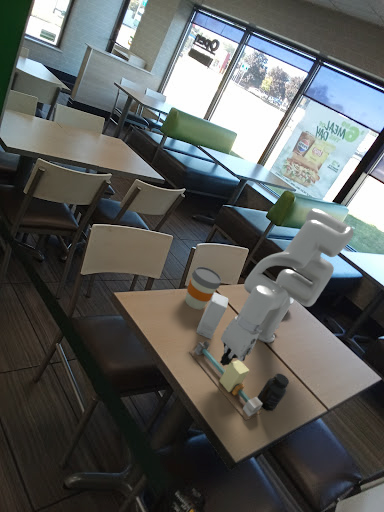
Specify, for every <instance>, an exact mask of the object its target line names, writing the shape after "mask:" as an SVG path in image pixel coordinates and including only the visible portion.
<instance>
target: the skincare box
mask: <svg viewBox="0 0 384 512" xmlns="http://www.w3.org/2000/svg"><path fill="white" fill-rule="evenodd" d="M228 303H229V298H228V297H226V296H224V295H221V294H220V293H217V292H216V293H215V292H214V293H213V295H212V297H211V299H210V301H208V303H207V306H206V308H205V310H204V312H203V313H202V317H201V319H200V320H199V323H198V326H197V329H196V333H197V334H198V335H200V336H202V337H204V338H206V339H209V340H211V339H212V338H213V335H214V334H215V332H216V330H217V329H218V328H217V327H218V326H219V324H220V322H221V320H222V318H223V316H224V314H225V313H226V309H227V308H228Z"/></svg>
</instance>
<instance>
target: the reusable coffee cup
mask: <svg viewBox="0 0 384 512" xmlns="http://www.w3.org/2000/svg"><path fill="white" fill-rule="evenodd" d="M191 275H192V276H191V278H190V279H189V282H188V286H187V288H186V291H187V292H186V296H185V298H184V301H185V303H186V304H187V306H189V307H191V308H192V309H195V310H203V309H204V308H205V307H206V305H208V303H209V302H210V299H211V297H212V295H213V293H214V292H215V293H217V290H218V289H219V288H220V286H221V283H222V281H223V279H222V277H221V276H220V274H219V273H218V272H216V271H215V270H213V269H211V268H209V267H206V266H202V265H201V266H196V267H195V269H194V270H193V272H192V273H191Z"/></svg>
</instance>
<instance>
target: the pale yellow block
mask: <svg viewBox="0 0 384 512" xmlns="http://www.w3.org/2000/svg"><path fill="white" fill-rule="evenodd" d="M249 372H250V369H249V368H248V367H247V366H246V365H245V363H244V362H243V361H242V362H241V361H239V360H238V359H237V360H234V361H231V363H229V365H227V367H226V368H225V372H224V374H223V375H222V377H221V379H220V380H219V381H220V383H221V384H222V385H223V386H224V387H225V388H226V390H227V391H228V392H231V391H233V390H234V386H235V385H240V384H243V381H244V380H245V379H246V376H247V375H248V374H249Z"/></svg>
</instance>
